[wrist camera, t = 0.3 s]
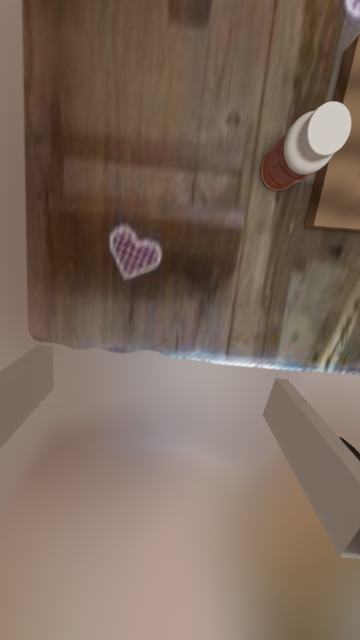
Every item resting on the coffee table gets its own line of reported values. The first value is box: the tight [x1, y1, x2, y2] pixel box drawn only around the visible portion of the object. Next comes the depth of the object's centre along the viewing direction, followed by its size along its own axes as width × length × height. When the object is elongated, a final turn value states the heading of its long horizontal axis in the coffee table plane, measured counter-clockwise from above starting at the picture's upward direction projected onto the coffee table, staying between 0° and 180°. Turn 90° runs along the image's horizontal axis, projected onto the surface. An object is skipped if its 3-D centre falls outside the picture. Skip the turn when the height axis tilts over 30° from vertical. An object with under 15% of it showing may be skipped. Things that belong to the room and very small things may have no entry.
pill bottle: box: [261, 101, 351, 191], centre depth 27 cm, size 6×6×11 cm
